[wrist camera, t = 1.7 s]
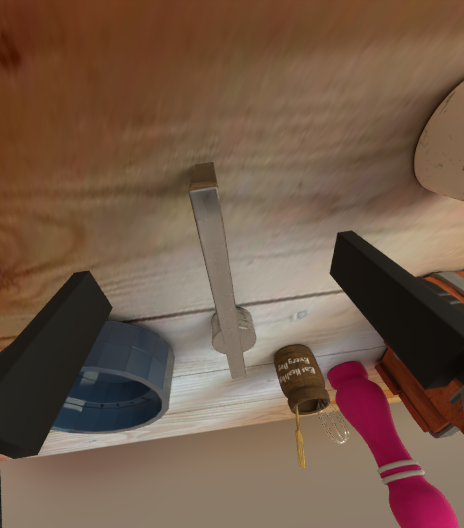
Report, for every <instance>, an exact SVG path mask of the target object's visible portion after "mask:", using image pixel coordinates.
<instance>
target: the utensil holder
mask: <svg viewBox="0 0 464 528" xmlns="http://www.w3.org/2000/svg"><path fill="white" fill-rule="evenodd" d="M274 364H275V368H276V372H277V376H278V379H279V383H280V386H281V389H282V391H283V393H284V395H285V396H286V397H287V398H288V405H289V407H290V409H291V411H292V412H293V413H294V414H296V423H297V430H296V441H297V450H298V459H299V466H300V467H302V468H304V469H305V459H304V449H303V437H302V433H301V431H300V424H299V415H307V414H312V413H316V412H319V411H321V410H323V409H325V408H326V407H327V406H329V404H330V398H329V394H328V392H327V390H326V389H324V388H325V381H324V377H323V375H322V373H321V370H320V368H319V366H318V364H317V362H316V359H315V357H314V355H313V353H312V352H311V350H310V349H309V348H308V347H306V346H304V345H291V346H288V347H285V348H283V349H281V350H280V351H279V352H278V353H277V354H276V355H275V358H274ZM330 405H331V404H330ZM331 406H332V405H331ZM329 407H330V406H329ZM332 407H333V406H332ZM330 408H331V407H330ZM333 408H334V407H333ZM331 409H332V408H331ZM334 409H335V408H334ZM325 410H326V409H325ZM325 410H324V411H325ZM335 410H336V409H335ZM326 411H327V410H326ZM332 411H333V410H332ZM336 411H337V410H336ZM333 412H334V411H333ZM321 413H322V412H321ZM325 413H326V412H325ZM327 413H328V412H327ZM318 414H320V413H318ZM335 414H336V413H335ZM319 418H320V417H319ZM337 418H338V417H337ZM334 424H335V423H334ZM322 425H323V424H322ZM344 431H345V430H344ZM348 433H349V432H348ZM348 438H349V436H348ZM335 439H336V438H335ZM342 440H343V439H342ZM333 441H334V440H333ZM347 441H348V439H347ZM347 441H346V440H345V442H347ZM345 442H342V443H340V442H339V444H344V443H345Z"/></svg>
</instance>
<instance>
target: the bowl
mask: <svg viewBox="0 0 464 528" xmlns="http://www.w3.org/2000/svg"><path fill="white" fill-rule="evenodd" d="M174 360H175V356H174V354H173V352H172V350H171V348H170V346H169V345H168V344H167V343H166V342H164V341H163V340H162V339H161V338H160V337H159V336H157V335H156V334H154V333H152V332H149V331H147V330H145V329H143V328H141V327H138V326H135V325H130V324H126V323H122V322H118V321H106V322H105V324H104V326H103V328H102V330H101V332H100V333H99V335H98V337H97V339H96V341H95V343H94V345H93V347H92V349H91V351H90V353H89V355H88V357H87V359H86V361H85V363H84V365H83V367H82V369H81V371H80V373H79V375H78V377H77V379H76V381H75V382H74V384H73V386H72V388H71V390H70V392H69V394H68V396H67V398H66V400H65V402H64V404H63V406H62V408H61V410H60V412H59V414H58V416H57V418H56V420H55V422H54V424H53V426H52V428H51V430H56V431H62V432H68V433H82V434H107V433H117V432H123V431H129V430H134V429H137V428H141V427H144V426H147V425H150V424H151V423H153V422H155V421H157V420H158V419H160V418H161V417H162V416H163V415H164V414H165V412H166V411H167V410H168V409H169V401H170V393H171V385H172V378H173V370H174Z"/></svg>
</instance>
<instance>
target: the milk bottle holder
mask: <svg viewBox="0 0 464 528" xmlns="http://www.w3.org/2000/svg"><path fill="white" fill-rule="evenodd" d="M424 279H426V280H429V281H431V282H433V283H435V284H437V285H439V286H440V287H441V288H443V289H444V290H446V291H447V292H449V294H450V295H453V296H454V297H456V298H457V299H459V300H460V301H461V303H464V271H462V272H456V273H454V272H452V271H446V272H440V273H434V274H431V275H429V277H426V278H424ZM384 343H385V344H386V345H387V347H388V350H387V352H386V354H385V355H384V357H383V359H382V362H377V364H376V366H375V368H376V370H377V372H378V373H379V375H380V376H381V378H382V380H383V381H384V383H385V384H386V385H387V387H388V388H389V389H390V391H391V392H392V393H393V395H398V394H399V397H400V398H401V400H402V402H403V403H404V405H405V406H406V408H407V409H408V411H409V412H410V414H411V415H412V417H413V418H414V420H415V421H416V422H417V424H418V425H419V426H420V427H421V429H422V430H423V431H424V432H429V433H430V434H431V435H432V436H433V437H435V438H442V437H448V436H452V435H453V434H454V433H456V432H458V431H459V430H461V432H462V433H463V434H464V412H463V409H462V408H460V407H461V406H462V399H460V400H459V401H458V402H457V403H456V404H455V405H452V404H450V403H449V402H450V398H451V397H452V396H453V395H454V394H455V393H456V392H457V391H458V390H459V389H460V388H461V387H462V386H463V384H462V383H461V382H460V381H459V380H458V379H457V378H456V377H455V378H454V379H453V380H452V381H451V383H450V384H449V385H448V386H446V387H440V388H434V389H428V390H424V388H423V387H422V386H421V385H420V383H419V382H418V381H417V380H416V379H415V377H414V376H413V375H412V374H411V372H410V371H409V370H408V369H407V368H406V366H405V365H404V364H403V363H402V361H401V360H400V359H399V358H398V357H397V355H396V354H395V353H394V352H393V351H392V349H391V348H390V347H389V346H388V344H387V343H386V342H385V341H384Z"/></svg>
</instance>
